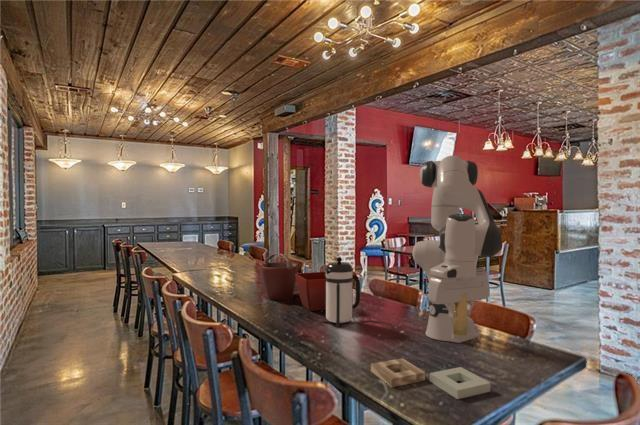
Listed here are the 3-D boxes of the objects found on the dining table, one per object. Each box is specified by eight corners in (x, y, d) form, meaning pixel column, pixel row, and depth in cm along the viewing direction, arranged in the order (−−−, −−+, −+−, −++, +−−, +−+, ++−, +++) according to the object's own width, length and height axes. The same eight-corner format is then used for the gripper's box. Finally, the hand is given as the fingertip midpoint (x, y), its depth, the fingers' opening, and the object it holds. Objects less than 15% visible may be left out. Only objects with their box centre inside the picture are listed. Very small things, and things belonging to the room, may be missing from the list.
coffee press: (356, 329, 170) (356, 259, 169) (319, 326, 173) (319, 258, 173) (360, 317, 187) (360, 254, 186) (327, 315, 190) (327, 253, 190)
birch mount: (402, 365, 131) (402, 358, 131) (424, 380, 120) (424, 372, 120) (370, 371, 127) (370, 363, 127) (391, 387, 116) (391, 379, 116)
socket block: (460, 374, 124) (460, 366, 124) (490, 391, 113) (490, 382, 113) (429, 381, 120) (429, 373, 120) (457, 399, 109) (457, 390, 108)
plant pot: (341, 310, 201) (341, 277, 200) (306, 313, 194) (306, 279, 193) (327, 301, 218) (327, 271, 218) (294, 304, 211) (294, 273, 211)
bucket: (256, 293, 237) (256, 252, 236) (290, 290, 246) (290, 250, 246) (268, 303, 215) (268, 257, 214) (305, 299, 224) (305, 255, 223)
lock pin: (460, 330, 119) (460, 291, 118) (470, 334, 115) (470, 293, 115) (449, 332, 117) (450, 292, 117) (459, 336, 113) (459, 294, 113)
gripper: (479, 266, 123) (478, 310, 123) (425, 269, 115) (425, 316, 115) (495, 268, 117) (494, 315, 117) (439, 273, 109) (439, 322, 109)
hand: (459, 316), depth 116 cm, fingers closed on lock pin, 4 cm apart
